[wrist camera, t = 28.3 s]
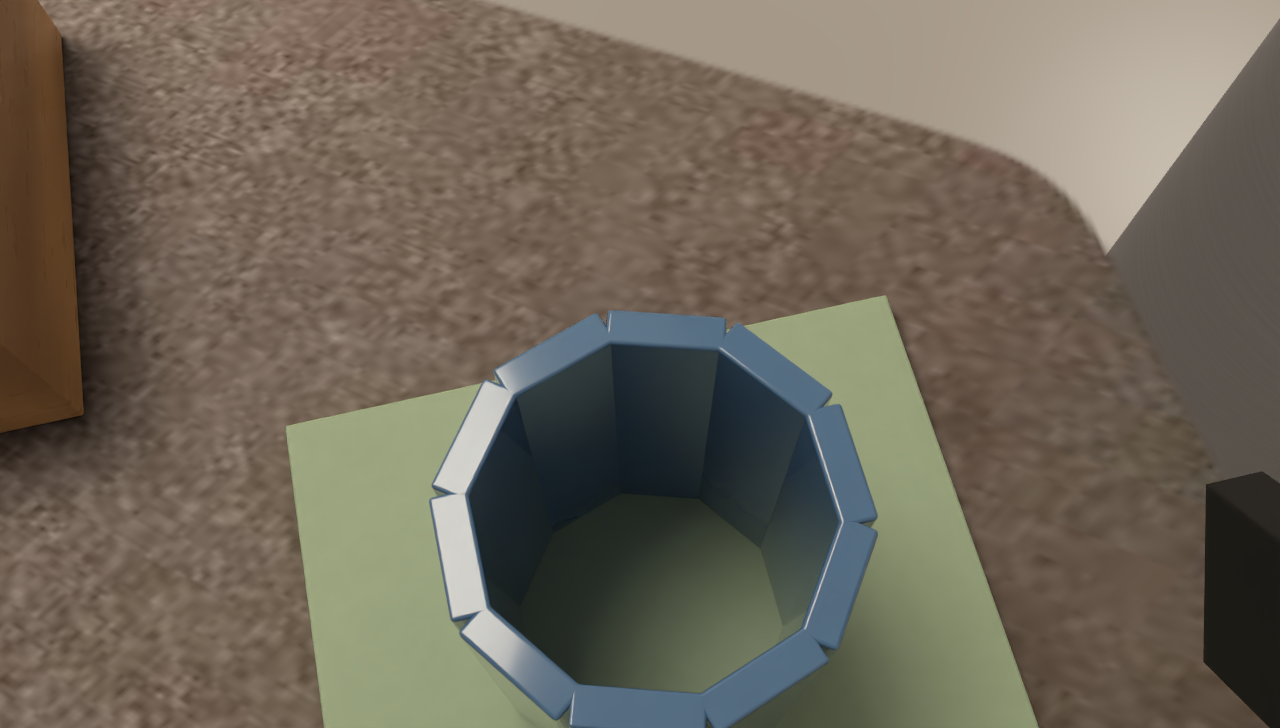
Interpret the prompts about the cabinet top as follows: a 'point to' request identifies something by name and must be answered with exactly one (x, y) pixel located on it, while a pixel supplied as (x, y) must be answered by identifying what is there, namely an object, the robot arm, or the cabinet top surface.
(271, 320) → the cabinet top surface
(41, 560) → the cabinet top surface
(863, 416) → the mat
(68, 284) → the wooden block
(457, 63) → the cabinet top surface
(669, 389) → the blue planter
